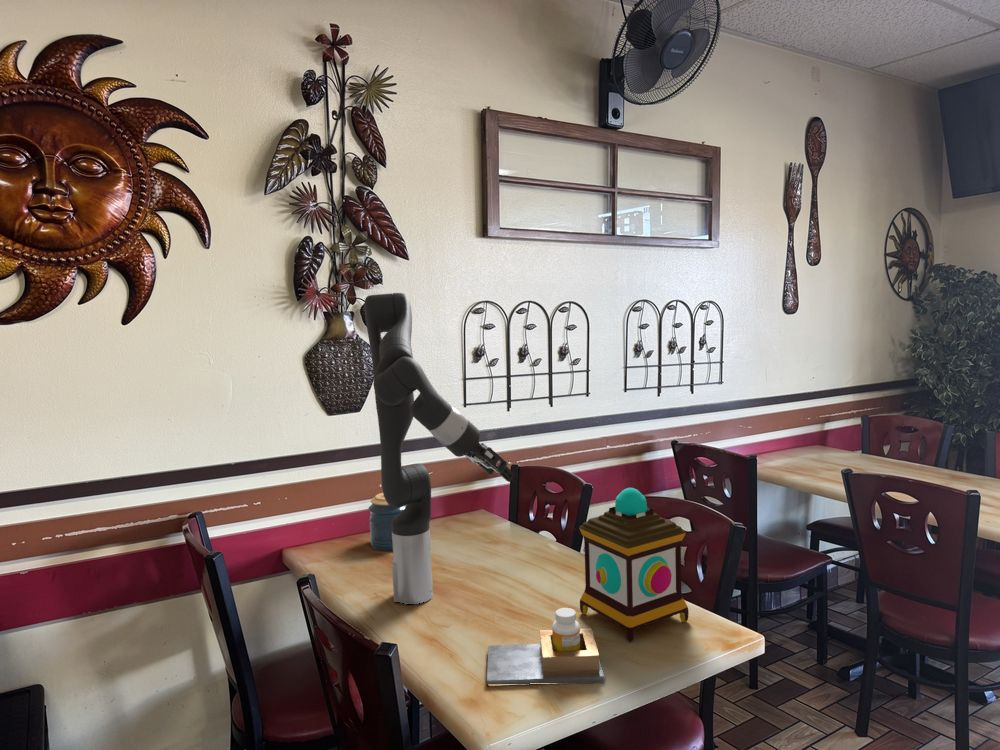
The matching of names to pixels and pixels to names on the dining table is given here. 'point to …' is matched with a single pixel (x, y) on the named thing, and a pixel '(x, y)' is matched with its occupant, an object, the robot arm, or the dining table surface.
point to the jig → (545, 662)
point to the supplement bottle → (566, 631)
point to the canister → (382, 522)
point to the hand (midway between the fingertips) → (502, 474)
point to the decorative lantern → (633, 565)
